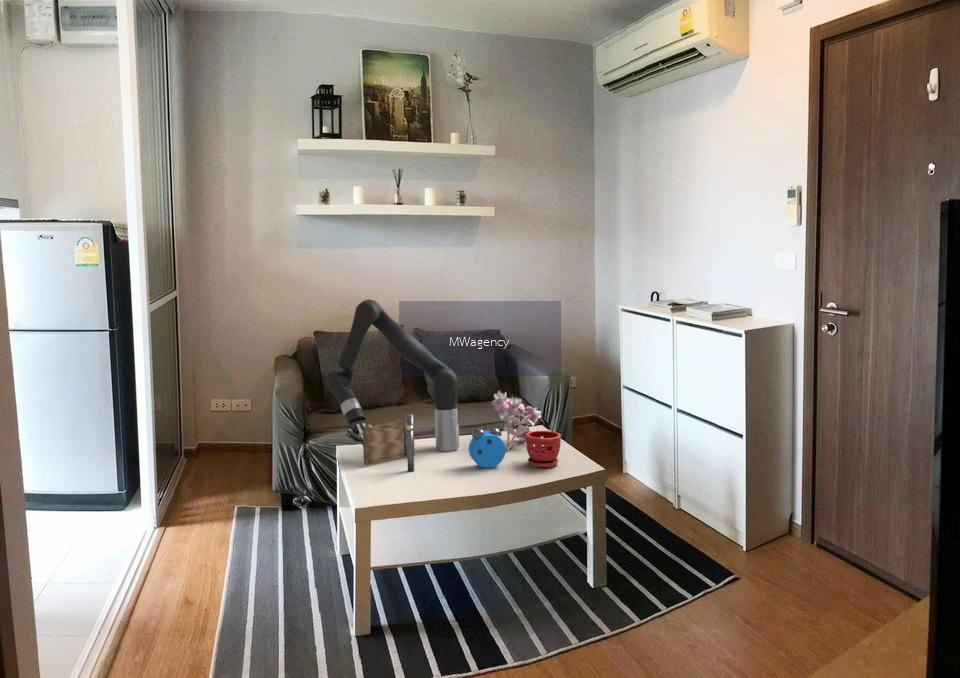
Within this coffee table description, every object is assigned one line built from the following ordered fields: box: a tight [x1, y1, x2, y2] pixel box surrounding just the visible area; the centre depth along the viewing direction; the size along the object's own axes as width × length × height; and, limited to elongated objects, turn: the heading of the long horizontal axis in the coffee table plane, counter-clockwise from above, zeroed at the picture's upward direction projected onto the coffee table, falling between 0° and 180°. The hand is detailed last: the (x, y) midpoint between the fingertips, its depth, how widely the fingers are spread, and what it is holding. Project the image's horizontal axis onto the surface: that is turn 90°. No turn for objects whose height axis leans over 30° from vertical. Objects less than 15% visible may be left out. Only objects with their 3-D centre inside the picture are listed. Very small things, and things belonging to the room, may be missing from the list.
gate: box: [362, 418, 407, 466], centre depth 277 cm, size 19×2×15 cm, turn 126°
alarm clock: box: [468, 427, 507, 469], centre depth 269 cm, size 13×6×15 cm, turn 107°
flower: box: [491, 390, 542, 451], centre depth 297 cm, size 20×22×25 cm
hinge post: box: [406, 413, 416, 456], centre depth 284 cm, size 3×3×17 cm
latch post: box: [406, 425, 415, 473], centre depth 266 cm, size 3×3×17 cm
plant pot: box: [525, 430, 562, 468], centre depth 271 cm, size 13×13×12 cm
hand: (368, 448), depth 278 cm, fingers closed
